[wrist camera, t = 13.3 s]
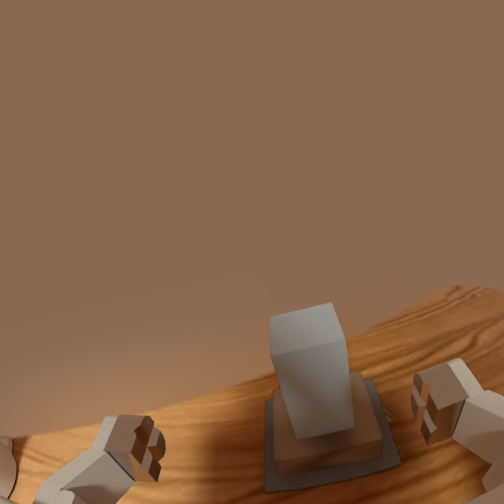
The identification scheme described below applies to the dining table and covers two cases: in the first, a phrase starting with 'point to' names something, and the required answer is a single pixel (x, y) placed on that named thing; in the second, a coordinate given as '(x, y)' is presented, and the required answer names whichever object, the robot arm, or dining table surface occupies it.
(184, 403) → the dining table surface
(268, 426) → the build pad
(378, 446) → the base slab
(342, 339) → the pillar
